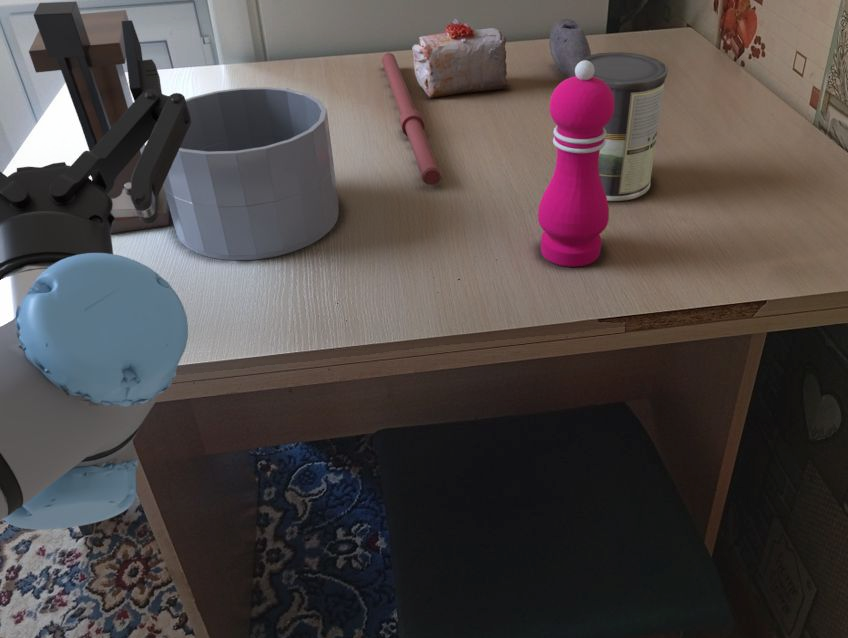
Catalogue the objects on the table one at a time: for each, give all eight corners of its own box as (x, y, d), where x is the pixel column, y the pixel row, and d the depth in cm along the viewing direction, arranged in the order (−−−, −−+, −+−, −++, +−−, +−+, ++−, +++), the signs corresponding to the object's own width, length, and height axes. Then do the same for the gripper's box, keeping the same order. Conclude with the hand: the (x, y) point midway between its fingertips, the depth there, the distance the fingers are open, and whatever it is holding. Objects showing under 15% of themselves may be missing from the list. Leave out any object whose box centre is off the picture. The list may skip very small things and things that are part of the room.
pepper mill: (558, 228, 87) (570, 43, 75) (616, 247, 84) (639, 57, 72) (523, 256, 83) (530, 64, 70) (583, 277, 79) (602, 80, 67)
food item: (423, 102, 118) (420, 34, 112) (412, 84, 124) (408, 19, 118) (510, 92, 121) (511, 26, 115) (494, 75, 127) (495, 11, 121)
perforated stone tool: (597, 90, 121) (601, 43, 117) (564, 91, 121) (566, 45, 117) (576, 59, 133) (580, 16, 129) (546, 60, 133) (548, 17, 128)
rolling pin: (445, 187, 96) (444, 163, 94) (419, 190, 95) (418, 166, 93) (398, 68, 131) (397, 48, 129) (379, 69, 130) (378, 50, 128)
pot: (157, 263, 83) (125, 156, 75) (197, 185, 97) (174, 89, 90) (330, 257, 83) (315, 150, 76) (345, 181, 97) (333, 85, 90)
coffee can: (575, 204, 92) (584, 84, 83) (559, 166, 100) (566, 53, 91) (661, 199, 92) (680, 79, 84) (638, 162, 100) (653, 49, 92)
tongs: (39, 2, 70) (32, 14, 69) (76, 1, 71) (71, 13, 69) (94, 157, 82) (90, 171, 80) (126, 155, 82) (123, 169, 81)
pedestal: (104, 199, 94) (44, 16, 82) (173, 190, 96) (125, 9, 83) (97, 248, 85) (28, 51, 72) (173, 237, 87) (119, 42, 74)
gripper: (-126, 346, 53) (-121, 96, 60) (253, 284, 58) (214, 61, 65) (-198, 295, 46) (-182, 20, 53) (239, 231, 51) (198, -12, 58)
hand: (36, 42), depth 59 cm, fingers open, 13 cm apart
